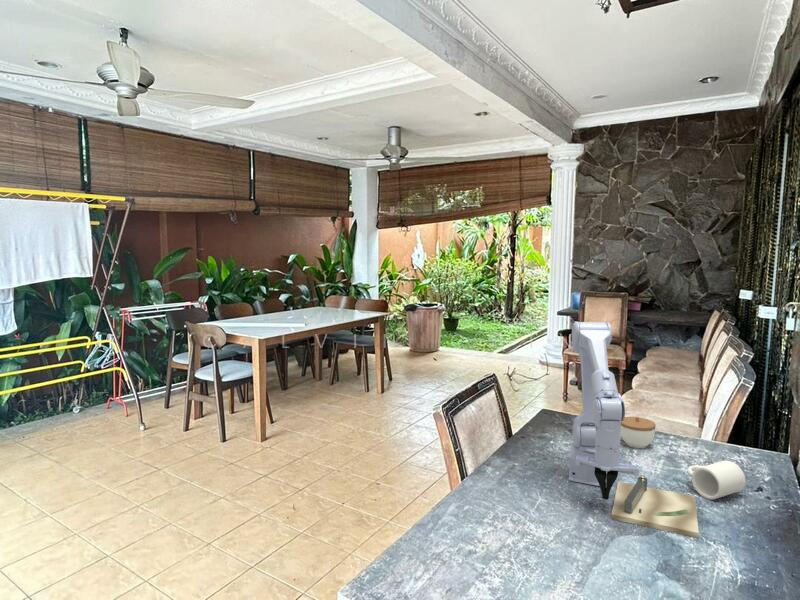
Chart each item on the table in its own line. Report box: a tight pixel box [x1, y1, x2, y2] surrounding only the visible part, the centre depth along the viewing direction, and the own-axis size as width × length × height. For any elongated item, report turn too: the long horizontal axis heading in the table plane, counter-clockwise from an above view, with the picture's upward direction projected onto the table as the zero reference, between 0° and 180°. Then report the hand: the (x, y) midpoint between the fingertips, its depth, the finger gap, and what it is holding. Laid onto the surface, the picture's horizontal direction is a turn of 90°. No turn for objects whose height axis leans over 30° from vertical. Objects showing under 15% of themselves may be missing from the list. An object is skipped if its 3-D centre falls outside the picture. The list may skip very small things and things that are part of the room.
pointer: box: [624, 475, 648, 513], centre depth 129 cm, size 2×16×3 cm, turn 143°
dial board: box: [611, 481, 700, 539], centre depth 126 cm, size 18×19×1 cm
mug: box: [686, 460, 747, 501], centre depth 136 cm, size 12×10×8 cm
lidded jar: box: [620, 416, 657, 449], centre depth 167 cm, size 11×11×9 cm
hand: (605, 497), depth 128 cm, fingers closed
